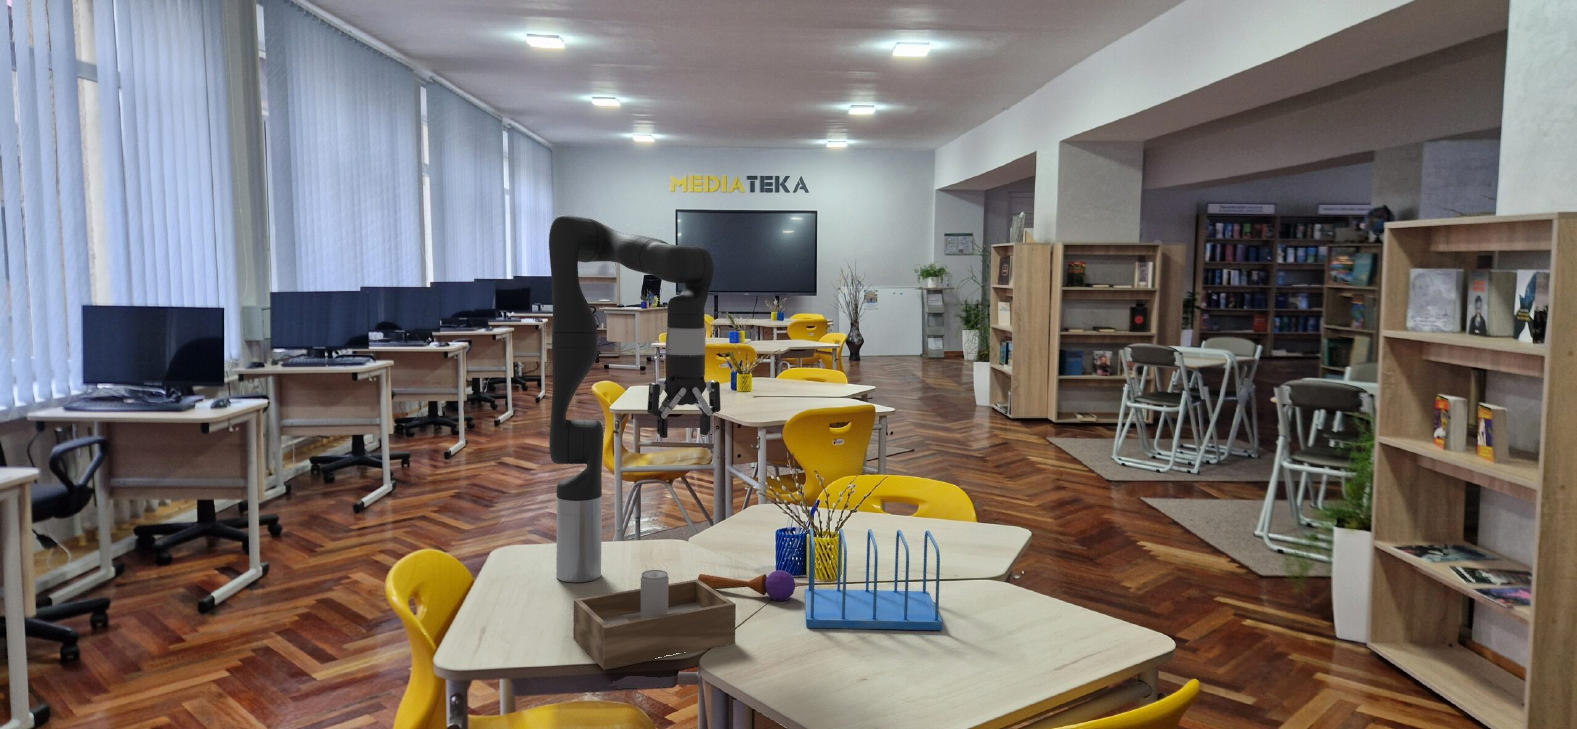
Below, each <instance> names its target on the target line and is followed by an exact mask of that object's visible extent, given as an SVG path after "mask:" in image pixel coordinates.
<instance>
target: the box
mask: <svg viewBox="0 0 1577 729" xmlns="http://www.w3.org/2000/svg"><path fill="white" fill-rule="evenodd" d="M736 605H737V604H736V603H735V602H733V601H732V600H731V599H729V598H728V597H726V596H724V595H723V594H721V593H720V592H719V591H717V590H716V589H712V588H710V587H709V586H707V585H706V584H704V583H703V582H701V581H700V580H698V578H697V579H690V580H685V581H678V582H672V583H669V588H668V614H666V615H660V616H655V617H649V618H644V619H641V588H637V589H636V588H635V589H629V590H624V591H618V592H611V593H606V594H598V595H594V596H593V595H592V596H586V597H582V598H581V597H580V598H574V599H573V629H572V630H573V634H572V635H573V640H574V641H576V643H577V644H578V645H579V646H580V647H581V648H582V649H583V650H584V651H585V652H586V653H587V654H588V656H590V657H591V658H592V660H594V661H595V662H596V664H597V665H598V666H600V668H601V669H602V670H603V671H606V670H611V669H616V668H621V667H626V666H629V665H630V666H631V665H635V664H641V663H645V662H650V661H654V660H653V659H655V658H658V657H664V656H666V655H673V654H676V653H684V652H689V653H693V652H698V651H703V650H707V649H712V648H717V647H722V646H726V645H732V644H735V643H736V621H737V620H736V615H737V608H736V607H737V606H736ZM684 654H685V653H684ZM655 660H656V659H655Z"/></svg>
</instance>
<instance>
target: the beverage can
mask: <svg viewBox="0 0 1577 729" xmlns="http://www.w3.org/2000/svg"><path fill="white" fill-rule="evenodd" d="M669 580H670V578H669V573H668V572H667V571H665V570H663V569H662V570H661V569H650V570H645V571H643V572H642V573H641V577H640V589H641V619H644V618H649V617H655V616H660V615H666V614H668V588H669V584H670V581H669Z"/></svg>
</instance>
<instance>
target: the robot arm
mask: <svg viewBox="0 0 1577 729" xmlns="http://www.w3.org/2000/svg"><path fill="white" fill-rule="evenodd" d="M548 250H549V253H548V254H549V262H550V264H549V265H550V276H551V290H552V292H551V293H552V326H551V329H552V330H551V360H552V362H551V363H552V365H551V366H552V368H551V369H552V371H551V372H552V390H551V391H552V393H551V394H552V396H551V407H550V408H551V411H550V426H549V443H548V444H549V445H548V446H549V456H550V459H551V462H553V463H554V464H555V465H586V468H584V469H583V470H582V471H581V472H579V473H577V474H576V475H573V476H571V477H568V478H565V479H562V480H561V481H559V482H558V483H557V485H556V558H555V559H556V566H555V568H556V571H555V573H556V578H557V580H559V581H562V582H565V583H585V582H592V581H595V580H598V579H599V578H600V577H601V576H602V526H603V525H602V521H603V519H602V516H603V514H602V510H603V509H602V506H603V504H602V502H603V501H602V499H603V498H602V496H603V493H602V492H603V490H602V488H603V487H602V483H603V482H602V476H603V475H602V472H603V471H602V470H603V469H602V468H603V457H604V456H603V455H604V454H603V453H604V429H603V428H604V427H603V424H602V423H601V421H599V420H597V419H568V418H567V413H568V409H569V407H570V404H571V402H572V400H573V397H574V395H575V394H576V392H577V390H578V388H579V387H580V385H581V383H582V382H583V381H584V379H585V378H586V377H587V375H588V374H589V372H591V371H590V370H591V369H592V367H594V363H595V362H596V359H597V357H598V324H597V320H596V318H595V315H594V313H593V311H592V309H591V306H590V305H589V303H588V301H587V298H586V297H585V295H584V293H583V290H582V288H581V284H580V279H579V263H580V262H581V263H592V262H593V263H594V262H611V263H618V264H620V265H622V266H623V267H625V268H627V269H629V270H632V271H635V272H638V273H643V274H646V275H651V276H654V277H656V278H657V279H660V280H662V281H665V282H668V283H672V284H673V283H674V284H683V287H682V290H681V292H680V294H679V295H677V296H673V297H671V298H670V299H669V300H668V303H667V315H666V316H667V317H666V319H667V322H666V323H667V324H666V326H667V327H666V334H665V346H664V350H665V354H664V355H665V356H664V358H665V360H664V361H665V362H664V363H665V366H664V370H665V371H664V375H665V380H664V383H656V382H650V383H649V385H648V393H647V394H648V397H647V398H648V399H647V411H646V412H647V414H648V415H652V416H655V418H656V432H657V435H659V437H660V438H662V439H667V438H668V431H669V430H668V427H669V426H668V424H669V419H668V418H667V417H669V414H670V413H671V412H672V410H674V409H675V408H676V406H685V405H690V406H693V405H695V407H696V408H698V410H699V411H700V413H701V415H699V434H700V435H703V436H708V435H709V433H710V432H711V426H712V425H711V423H712V420H711V419H712V418H711V417H712V415H713V414H715V413H719V412H721V388H720V387H721V385H720V382H719V381H717V380H713V379H712V380H709V381H705V375H706V334H705V312H706V311H705V307H706V305H707V304H706V303H707V301H708V297H709V293H710V290H711V285H712V282H713V278H714V274H715V272H714V271H715V265H714V259H713V257H712V255H711V253H710V252H709V250H707V249H706V248H705V247H703V246H697V245H696V246H693V245H677V244H670V243H668V242H666V241H664V240H662V239H658V238H654V237H649V236H644V235H638V234H629V233H625V232H621V231H618V230H617V229H614V228H611V227H610V226H608V225H605V224H603V223H601V222H600V221H597V220H595V219H592V218H589V217H588V218H587V217H581V216H575V215H568V214H562V215H558V216H557V217H556V218H555V219H554V220H553V221H552V223H551V226H550V230H549V236H548ZM705 390H706V392H708V402H707V401H706V399H705V398H704V396H703V393H704V392H705ZM663 391H664V393H665V394H666V396H665V397H664V399H663V401H662V402H661V405H660V396H661V395H662V394H663ZM708 404H709V405H708Z"/></svg>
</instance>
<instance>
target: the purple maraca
mask: <svg viewBox="0 0 1577 729" xmlns="http://www.w3.org/2000/svg"><path fill="white" fill-rule="evenodd" d="M697 579H698V580H700V581H701V582H703V583H704V584H706V585H707V586H709V587H710V588H712V589H714V590H724V589H726V590H727V589H736V588H737V589H738V588H749V589H751V590H752V591H755V592H756V593H759V594H760V595H762V596H766V595H768V596H769V598H770V599H772V600H774V601H781V602H783V601H786V600H789V599H790V598H791V596H793V594H794V592H795V590H796V583H795V582H796V581H795V579H794V577H793V576H792V574H791V573H790V572H787V571H786V570H782V569H781V570H780V569H776V570H774V571H772V572H771V573H770V574H769V575H768V576H767V574H766V573H763V574H761V575H759V576H757V577H754V578H752V579H750V580H748V581H747V580H741V579H735V578H729V577H722V576H716V575H712V574H711V575H710V574H705V573H704V574H703V573H699V575H698V578H697Z"/></svg>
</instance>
